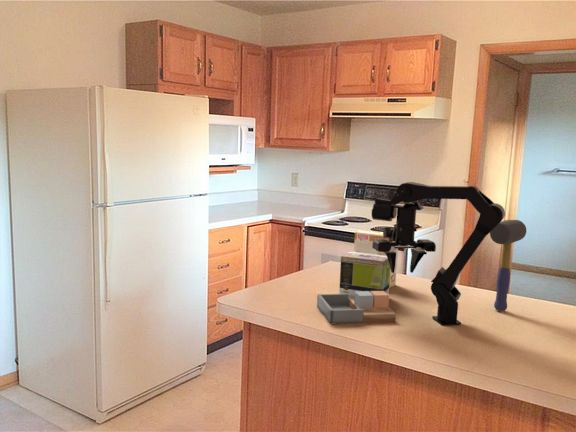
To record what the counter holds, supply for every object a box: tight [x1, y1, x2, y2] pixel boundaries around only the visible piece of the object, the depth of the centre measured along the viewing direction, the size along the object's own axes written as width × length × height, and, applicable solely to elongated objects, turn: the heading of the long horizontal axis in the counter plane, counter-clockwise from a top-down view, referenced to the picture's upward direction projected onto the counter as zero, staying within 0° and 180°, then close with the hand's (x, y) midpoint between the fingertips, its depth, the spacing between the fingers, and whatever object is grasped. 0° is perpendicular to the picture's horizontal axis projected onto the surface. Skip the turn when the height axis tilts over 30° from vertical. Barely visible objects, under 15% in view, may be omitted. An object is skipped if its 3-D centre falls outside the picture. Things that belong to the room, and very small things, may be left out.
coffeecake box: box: [353, 229, 399, 289], centre depth 200 cm, size 15×7×20 cm, turn 58°
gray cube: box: [354, 291, 374, 308], centre depth 165 cm, size 4×4×4 cm
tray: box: [316, 293, 364, 325], centre depth 164 cm, size 16×10×4 cm, turn 11°
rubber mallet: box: [489, 219, 527, 313], centre depth 172 cm, size 12×8×30 cm, turn 133°
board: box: [348, 298, 397, 324], centre depth 166 cm, size 16×10×2 cm, turn 11°
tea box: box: [338, 251, 390, 298], centre depth 182 cm, size 15×10×15 cm, turn 65°
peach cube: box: [370, 291, 390, 308], centre depth 166 cm, size 4×4×4 cm
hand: (402, 272), depth 166 cm, fingers open, 6 cm apart
